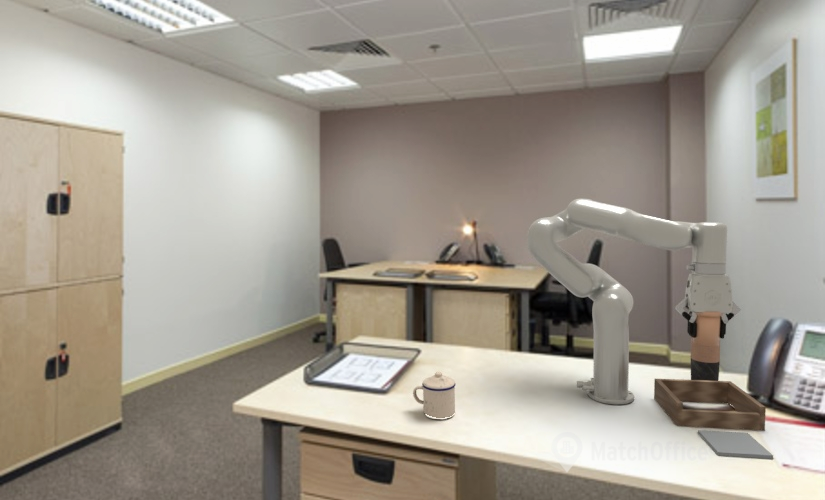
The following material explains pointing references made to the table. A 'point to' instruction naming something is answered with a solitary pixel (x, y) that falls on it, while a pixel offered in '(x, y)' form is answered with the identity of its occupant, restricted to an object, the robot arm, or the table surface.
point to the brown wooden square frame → (710, 392)
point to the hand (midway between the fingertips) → (706, 336)
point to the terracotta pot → (708, 328)
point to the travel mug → (705, 362)
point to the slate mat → (734, 444)
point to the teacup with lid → (437, 396)
